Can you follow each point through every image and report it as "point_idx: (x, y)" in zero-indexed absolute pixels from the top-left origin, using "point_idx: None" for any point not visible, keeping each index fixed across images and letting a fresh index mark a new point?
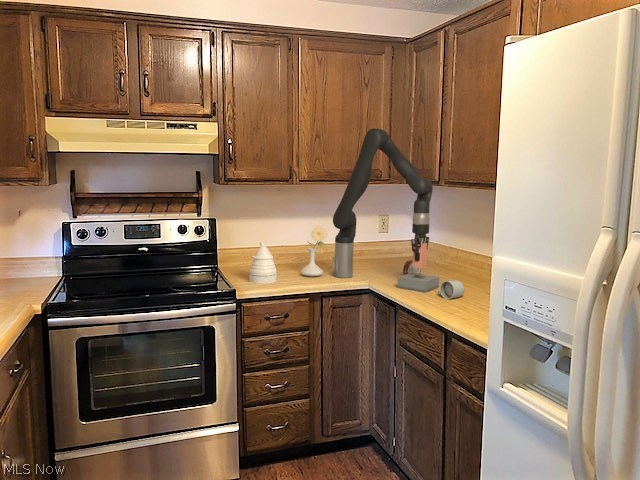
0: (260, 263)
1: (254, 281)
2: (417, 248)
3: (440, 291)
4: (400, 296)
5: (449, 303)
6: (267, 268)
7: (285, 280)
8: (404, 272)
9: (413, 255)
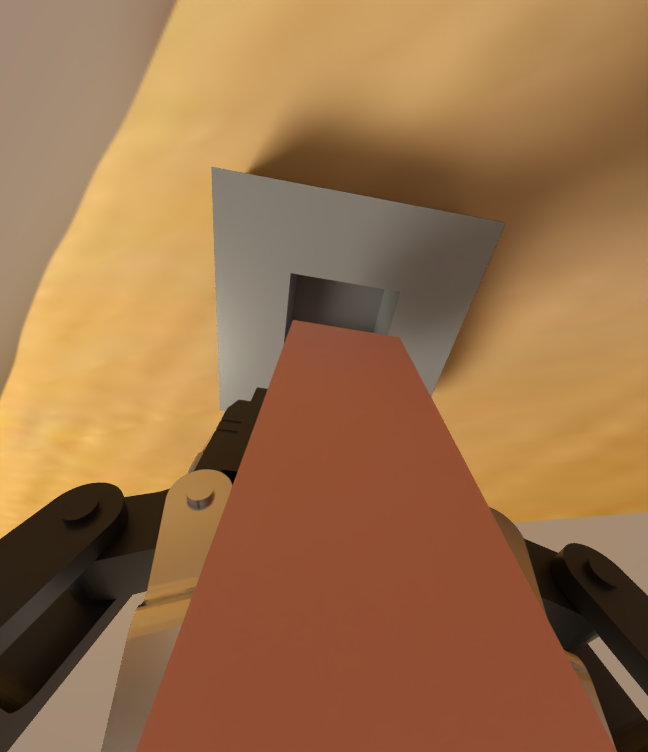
0: None
1: None
2: (61, 641)
3: (195, 460)
4: (57, 286)
5: (141, 480)
6: None
7: None
8: None
9: (265, 400)
